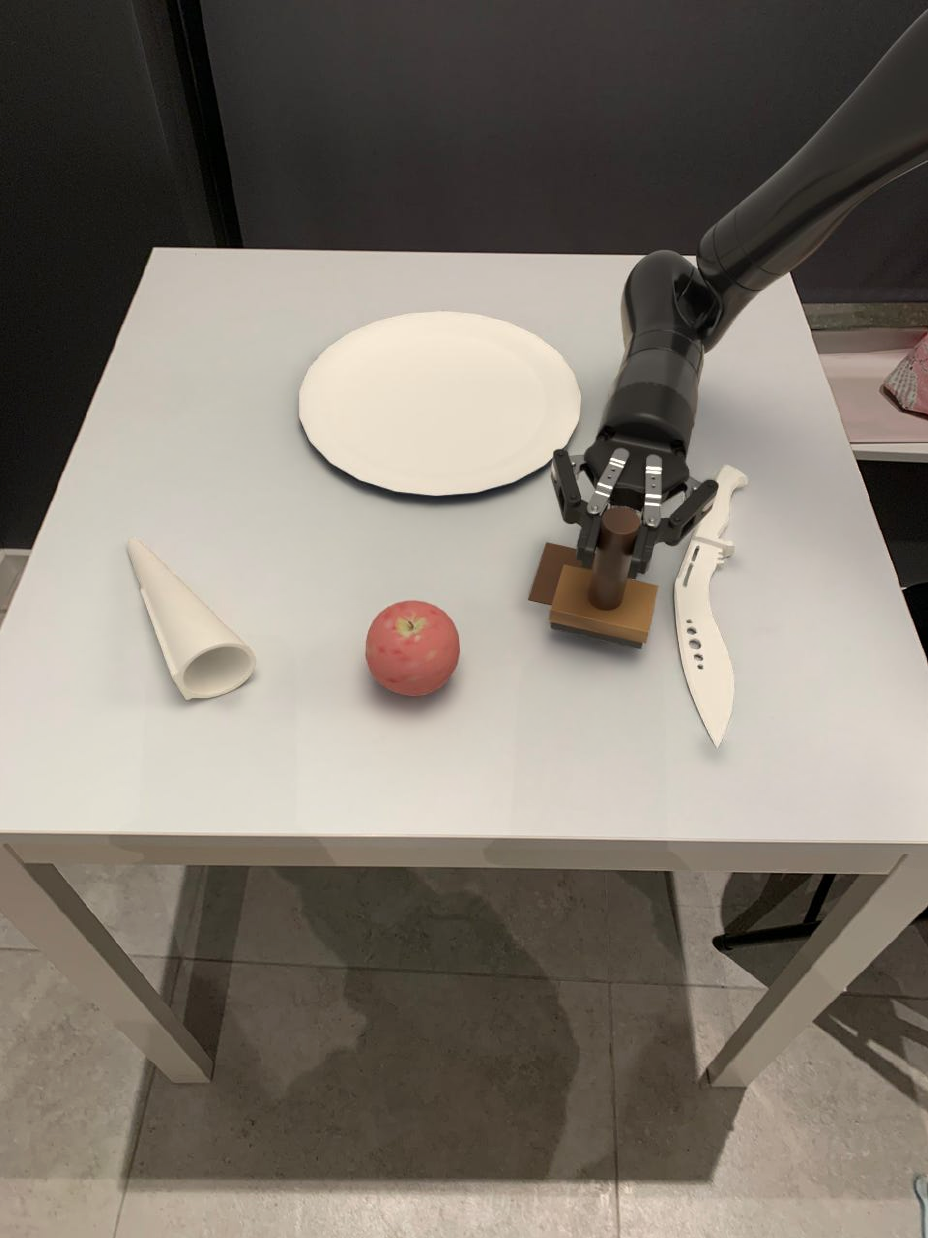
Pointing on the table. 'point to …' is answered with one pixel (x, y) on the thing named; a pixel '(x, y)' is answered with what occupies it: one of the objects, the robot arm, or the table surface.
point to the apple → (412, 648)
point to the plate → (439, 403)
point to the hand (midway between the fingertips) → (610, 566)
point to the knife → (707, 612)
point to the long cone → (189, 631)
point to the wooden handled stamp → (607, 589)
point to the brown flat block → (552, 571)
